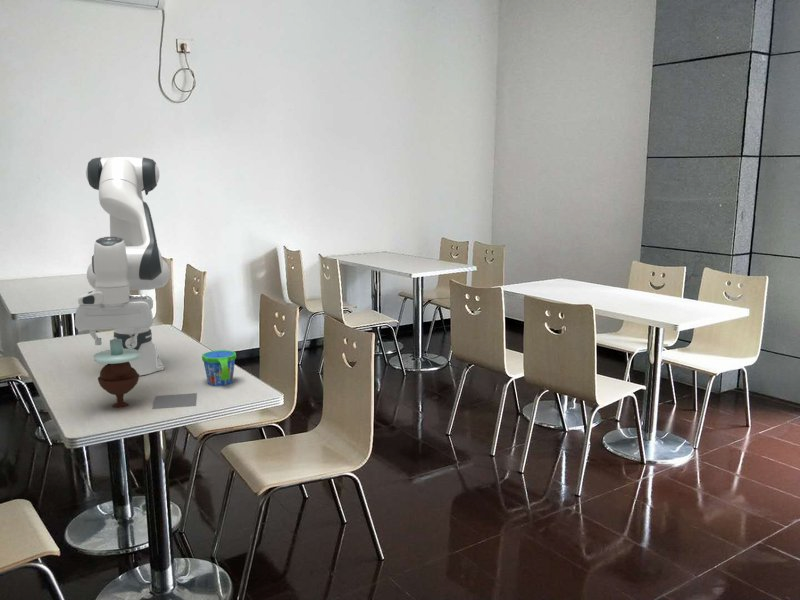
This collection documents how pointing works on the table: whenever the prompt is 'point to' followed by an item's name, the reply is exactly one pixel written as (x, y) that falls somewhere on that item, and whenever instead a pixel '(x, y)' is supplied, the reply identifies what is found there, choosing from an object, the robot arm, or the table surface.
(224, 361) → the snack cup
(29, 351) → the table surface
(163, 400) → the mat
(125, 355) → the lid
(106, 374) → the ice cream bowl
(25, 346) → the table surface
